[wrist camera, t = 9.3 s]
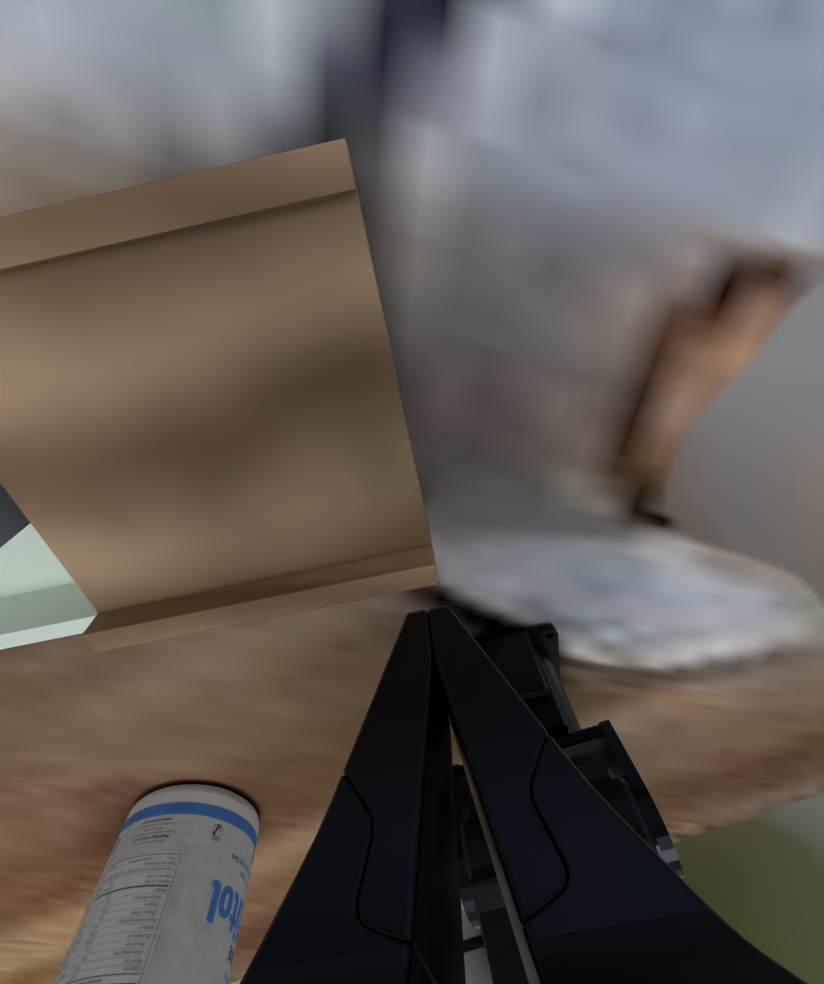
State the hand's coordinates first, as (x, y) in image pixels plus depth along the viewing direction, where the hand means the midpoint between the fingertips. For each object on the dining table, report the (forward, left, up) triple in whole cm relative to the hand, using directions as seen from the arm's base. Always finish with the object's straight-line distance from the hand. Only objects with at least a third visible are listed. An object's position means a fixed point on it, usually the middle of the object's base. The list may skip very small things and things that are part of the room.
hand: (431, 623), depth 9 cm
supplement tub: (-28, +22, -13) cm, 38 cm away
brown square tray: (+2, +7, -12) cm, 14 cm away
